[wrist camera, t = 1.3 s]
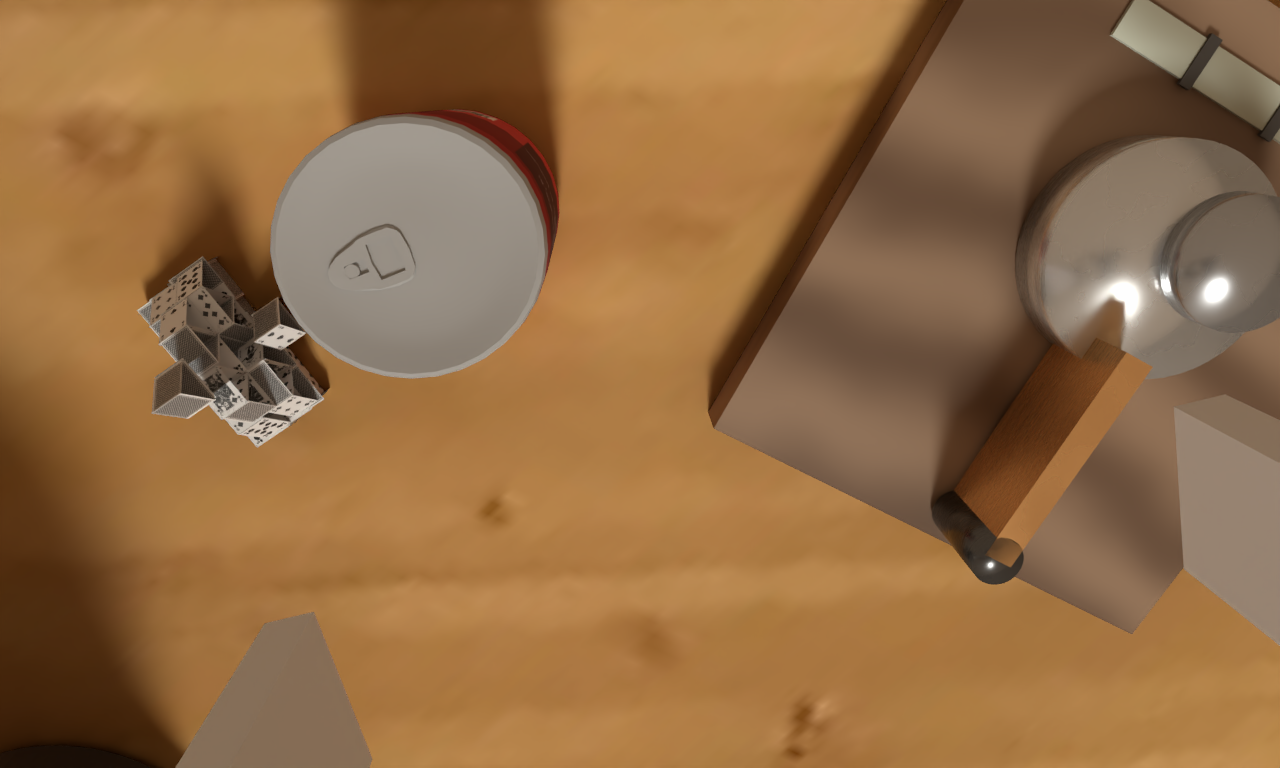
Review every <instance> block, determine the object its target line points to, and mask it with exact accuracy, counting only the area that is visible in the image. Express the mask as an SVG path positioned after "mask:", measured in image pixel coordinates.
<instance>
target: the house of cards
mask: <svg viewBox="0 0 1280 768" xmlns="http://www.w3.org/2000/svg"><path fill="white" fill-rule="evenodd" d="M216 258H217V257H215V258H213V259H211V260H209V261H208V262H207V261H206V259H205V258H204V257H203V256H202V257H201V258H200V259H198V260H197V261H195V262H194V263H193V264H191V265H190V266H188V267H187V268H186V269H184V270H183V271H181V272H180V273H179V274H177V275H176V276H174V277H173V278H172V279H170V280H169V282H170V283H169V284H167V285H168V287H167V288H165V289H164V290H163V291H161V292H160V293H158V294H157V295H156V296H154V297H153V298H151V299H150V300H149V302H148V303H147V304H145V305H144V306H142V307H141V308H140V309H138V310H137V311H138V312H139V313H140V314H141V316H142V317H143V318H144V319H145V320H146V321H147V323H148V324H149V325H150V326H149V328H151V329H152V330H153V331H154V332H155V333H156V334H157V336H158V337H159V345H160V346H163V347H164V348H165V349H166V351H167V352H168V353H169V354H170V355H171V356H172V358H173V359H174V360H175V361H176V363H175V364H173V365H172V366H170V367H169V368H167V369H166V370H165V371H163V372H162V373H160V374H159V375H157V376H156V377H155V378H156V379H154V391H153V405H152V414H159V415H166V416H173V417H180V418H187V419H189V418H190V417H192V416H193V415H195V414H196V413H197V412H199V411H200V410H202V409H203V408H205V407H206V406H208V405H209V406H210V407H211V408H212V409H213V411H214V412H215V413H216V414H217V415H218V416H219V418H220V419H221V420H223V419H225V420H226V421H227V422H228V424H229V425H230V426H231V427H232V428H233V429H234V430H235V432H236V433H237V434H238V435H246V436H248V438H249V439H250V440H251V441H252V442H253V443H254V445H255V446H256V447H259V446H260V445H262V444H263V443H265V442H266V441H268V440H269V439H271V438H272V437H274V436H275V435H277V434H278V433H280V432H281V431H283V430H284V429H286V428H287V427H289V426H291V425H292V424H293V423H295V422H296V421H297V420H298V419H299V418H300V417H301V416H302V415H303V414H305V413H306V412H308V411H309V410H311V409H312V407H313V406H315V405H316V404H318V403H319V402H321V401H322V400H324V398H323V397H322V396H323V395H324V394H325V393H326V392H327V391H328V389H327V390H326V391H324V390H323V389H322V388H321V386H320V385H319V384H318V383H317V382H316V380H315V379H314V378H313V377H312V375H311V374H310V373H309V372H308V371H307V369H306V368H305V367H304V366H303V364H302V363H301V362H300V361H299V360H298V358H297V357H296V356H295V355H294V354H293V352H292V351H291V350H290V349H289V348H288V345H290V344H291V343H293V342H294V341H296V340H297V339H299V338H300V337H302V336H303V335H304V334H306V333H305V332H304V331H303V329H302V327H300V326H299V325H298V323H297V322H296V321H295V320H294V318H293V317H292V316H291V315H290V313H289V312H288V311H287V310H286V308H285V307H284V306H283V305H282V303H281V302H280V301H279V299H280V298H279V299H278V297H277V298H275V299H274V300H272V301H271V302H269V303H268V304H267V305H265V306H264V307H262V308H261V309H259V310H258V311H257V312H255V311H254V309H253V308H252V307H251V306H250V304H249V303H248V302H247V301H246V300H245V298H244V297H243V295H244V293H243V292H242V290H241V289H240V288H239V287H238V285H237V284H236V283H235V282H234V281H233V279H232V278H231V277H230V276H229V274H228V273H227V272H226V271H225V269H224V268H223V267H222V266H221V265H220V263H219V262H218V261H217V260H216ZM138 315H139V314H138Z"/></svg>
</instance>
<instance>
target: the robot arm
mask: <svg viewBox="0 0 1280 768" xmlns="http://www.w3.org/2000/svg"><path fill="white" fill-rule="evenodd" d="M1174 418H1175V434H1176V450H1177V467H1178V483H1179V499H1180V516H1181V532H1182V548H1183V564H1184V569H1185V570H1186V571H1187V572H1188V573H1190V574H1191V575H1192V576H1193V577H1195V578H1196V579H1197V580H1198V581H1200V582H1201V583H1202V584H1203V585H1205V586H1206V587H1207V588H1208V589H1210V590H1211V591H1212V592H1213V593H1215V594H1216V595H1217V596H1218V597H1220V598H1221V599H1222V600H1223V601H1225V602H1226V603H1227V604H1228V605H1230V606H1231V607H1232V608H1233V609H1235V610H1236V611H1237V612H1238V613H1240V614H1241V615H1242V616H1243V617H1245V618H1246V619H1247V620H1248V621H1250V622H1251V623H1252V624H1253V625H1255V626H1256V627H1257V628H1258V629H1260V630H1261V631H1262V632H1263V633H1265V634H1266V635H1267V636H1268V637H1270V638H1271V639H1272V640H1273V641H1275V642H1276V643H1277V644H1278V645H1280V420H1278V419H1276V418H1274V417H1272V416H1270V415H1268V414H1266V413H1263V412H1261V411H1259V410H1257V409H1255V408H1253V407H1251V406H1249V405H1247V404H1244V403H1242V402H1240V401H1238V400H1236V399H1234V398H1232V397H1230V396H1227V395H1221V396H1217V397H1212V398H1208V399H1204V400H1200V401H1196V402H1191V403H1187V404H1183V405H1179V406H1175V407H1174ZM371 761H372V757H371V754H370V752H369V749H368V747H367V744H366V742H365V739H364V737H363V734H362V732H361V729H360V727H359V724H358V722H357V719H356V717H355V714H354V712H353V709H352V707H351V704H350V702H349V699H348V696H347V694H346V691H345V689H344V686H343V684H342V681H341V679H340V676H339V674H338V671H337V669H336V666H335V664H334V661H333V659H332V656H331V654H330V651H329V649H328V646H327V644H326V641H325V639H324V636H323V634H322V631H321V629H320V626H319V624H318V621H317V619H316V616H315V614H314V612H311V613H307V614H303V615H299V616H294V617H290V618H286V619H282V620H278V621H273V622H269V623H265V624H264V626H263V627H262V629H261V630H260V632H259V634H258V635H257V637H256V639H255V640H254V642H253V643H252V645H251V647H250V648H249V650H248V651H247V653H246V655H245V656H244V658H243V659H242V661H241V663H240V664H239V666H238V668H237V669H236V671H235V672H234V674H233V676H232V677H231V679H230V680H229V682H228V684H227V685H226V687H225V688H224V690H223V692H222V693H221V695H220V697H219V698H218V700H217V701H216V703H215V705H214V706H213V708H212V709H211V711H210V713H209V714H208V716H207V717H206V719H205V721H204V722H203V724H202V726H201V727H200V729H199V730H198V732H197V734H196V735H195V737H194V738H193V740H192V742H191V743H190V745H189V746H188V748H187V750H186V751H185V753H184V755H183V756H182V758H181V759H180V761H179V763H178V764H177V766H176V767H175V768H369V767H370V764H371ZM0 768H150V767H148V766H146V765H144V764H142V763H140V762H137V761H135V760H132V759H129V758H126V757H123V756H121V755H117V754H114V753H110V752H106V751H102V750H97V749H91V748H85V747H76V746H58V745H54V746H36V747H28V748H21V749H16V750H12V751H7V752H4V753H1V754H0Z"/></svg>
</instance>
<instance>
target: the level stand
mask: <svg viewBox="0 0 1280 768" xmlns="http://www.w3.org/2000/svg"><path fill="white" fill-rule="evenodd" d="M1137 135H1159V136H1173V137H1187V138H1199V139H1205V140H1210V141H1215V142H1218V143H1221V144H1224V145H1227V146H1229V147H1231V148H1233V149H1235V150H1237V151H1239V152H1241V153H1242V154H1243V155H1245V156H1246V157H1247V158H1249V159H1250V160H1251V161H1253V162H1254V163H1255V164H1256V165H1257V166H1258V167H1259V168H1260V169H1261V171H1262V172H1263V173H1264V174H1265V176H1266V177H1267V179H1268V180H1269V181H1270V183H1271V184H1272V186H1273V188H1274V191H1275V193H1276V195H1277V196H1278V197H1280V8H1278V7H1277V6H1276V5H1274V4H1273V3H1271V2H1270V1H1268V0H947V1H946V3H945V5H944V7H943V8H942V10H941V12H940V13H939V15H938V17H937V19H936V20H935V22H934V24H933V26H932V27H931V29H930V31H929V32H928V34H927V36H926V38H925V39H924V41H923V43H922V44H921V46H920V48H919V50H918V51H917V53H916V55H915V57H914V58H913V60H912V62H911V63H910V65H909V67H908V69H907V70H906V72H905V74H904V76H903V77H902V79H901V81H900V82H899V84H898V86H897V88H896V89H895V91H894V93H893V95H892V96H891V98H890V100H889V101H888V103H887V105H886V107H885V108H884V110H883V112H882V113H881V115H880V117H879V119H878V120H877V122H876V124H875V126H874V127H873V129H872V131H871V132H870V134H869V136H868V138H867V139H866V141H865V143H864V145H863V146H862V148H861V150H860V151H859V153H858V155H857V157H856V158H855V160H854V162H853V164H852V165H851V167H850V169H849V170H848V172H847V174H846V176H845V177H844V179H843V181H842V182H841V184H840V186H839V188H838V189H837V191H836V193H835V195H834V196H833V198H832V200H831V201H830V203H829V205H828V207H827V208H826V210H825V212H824V214H823V215H822V217H821V219H820V220H819V222H818V224H817V226H816V227H815V229H814V231H813V232H812V234H811V236H810V238H809V239H808V241H807V243H806V245H805V246H804V248H803V250H802V251H801V253H800V255H799V257H798V258H797V260H796V262H795V264H794V265H793V267H792V269H791V270H790V272H789V274H788V276H787V277H786V279H785V281H784V283H783V284H782V286H781V288H780V289H779V291H778V293H777V295H776V296H775V298H774V300H773V301H772V303H771V305H770V307H769V308H768V310H767V312H766V314H765V315H764V317H763V319H762V320H761V322H760V324H759V326H758V327H757V329H756V331H755V333H754V334H753V336H752V338H751V339H750V341H749V343H748V345H747V346H746V348H745V350H744V352H743V353H742V355H741V357H740V358H739V360H738V362H737V364H736V365H735V367H734V369H733V370H732V372H731V374H730V376H729V377H728V379H727V381H726V383H725V384H724V386H723V388H722V389H721V391H720V393H719V395H718V396H717V398H716V400H715V402H714V403H713V405H712V407H711V408H710V410H709V412H708V413H709V416H710V419H711V422H712V425H713V427H714V429H716V430H718V431H720V432H722V433H724V434H726V435H728V436H730V437H732V438H734V439H736V440H738V441H740V442H742V443H744V444H746V445H749V446H751V447H753V448H755V449H757V450H759V451H761V452H763V453H765V454H767V455H769V456H771V457H773V458H775V459H777V460H779V461H781V462H783V463H785V464H787V465H789V466H791V467H793V468H795V469H797V470H799V471H801V472H803V473H805V474H807V475H809V476H811V477H814V478H816V479H818V480H820V481H822V482H824V483H826V484H828V485H830V486H832V487H834V488H836V489H838V490H840V491H842V492H844V493H846V494H848V495H850V496H852V497H854V498H856V499H858V500H860V501H862V502H864V503H866V504H868V505H870V506H872V507H874V508H876V509H878V510H881V511H883V512H885V513H887V514H889V515H891V516H893V517H895V518H897V519H899V520H901V521H903V522H905V523H907V524H909V525H911V526H913V527H915V528H917V529H919V530H921V531H923V532H925V533H927V534H929V535H931V536H933V537H935V538H937V539H939V540H941V541H943V542H946V543H948V544H950V543H949V541H948V540H947V539H946V538H945V536H944V535H943V534H942V532H941V531H940V530H939V529H938V527H937V526H936V525H935V523H934V521H933V519H932V509H933V506H934V504H935V502H936V501H937V499H938V498H939V497H940V496H942V495H943V494H945V493H947V492H949V491H952V490H954V489H955V488H956V486H957V485H958V483H959V482H960V480H961V479H962V477H963V476H964V474H965V473H966V471H967V470H968V468H969V467H970V465H971V464H972V462H973V461H974V460H975V458H976V457H977V455H978V454H979V452H980V451H981V449H982V448H983V446H984V445H985V443H986V442H987V440H988V439H989V437H990V436H991V434H992V433H993V431H994V430H995V428H996V427H997V425H998V424H999V422H1000V421H1001V419H1002V418H1003V416H1004V415H1005V414H1006V412H1007V411H1008V409H1009V408H1010V406H1011V405H1012V403H1013V402H1014V400H1015V399H1016V397H1017V396H1018V394H1019V393H1020V391H1021V390H1022V388H1023V387H1024V385H1025V384H1026V382H1027V381H1028V379H1029V378H1030V376H1031V375H1032V373H1033V372H1034V370H1035V369H1036V368H1037V366H1038V365H1039V363H1040V362H1041V360H1042V359H1043V357H1044V356H1045V354H1046V353H1047V351H1048V350H1049V348H1050V347H1051V345H1052V343H1051V342H1049V341H1048V340H1047V339H1046V338H1045V337H1044V336H1043V335H1042V334H1041V333H1040V332H1039V331H1038V330H1037V329H1036V327H1035V326H1034V325H1033V324H1032V322H1031V320H1030V319H1029V317H1028V315H1027V314H1026V312H1025V310H1024V307H1023V305H1022V302H1021V300H1020V296H1019V292H1018V288H1017V282H1016V272H1015V269H1016V252H1017V246H1018V241H1019V237H1020V234H1021V230H1022V227H1023V224H1024V222H1025V220H1026V217H1027V215H1028V213H1029V211H1030V209H1031V207H1032V205H1033V204H1034V202H1035V200H1036V198H1037V197H1038V196H1039V194H1040V193H1041V191H1042V190H1043V189H1044V187H1045V186H1046V185H1047V184H1048V183H1049V181H1050V180H1051V179H1052V178H1053V177H1054V176H1055V175H1056V174H1057V173H1058V172H1059V171H1060V170H1061V169H1063V168H1064V167H1065V166H1066V165H1067V164H1068V163H1069V162H1071V161H1072V160H1074V159H1075V158H1077V157H1078V156H1080V155H1081V154H1083V153H1084V152H1086V151H1088V150H1090V149H1092V148H1094V147H1096V146H1098V145H1101V144H1103V143H1106V142H1108V141H1111V140H1115V139H1119V138H1123V137H1127V136H1137ZM1221 395H1227V396H1230V397H1232V398H1234V399H1236V400H1238V401H1240V402H1242V403H1244V404H1247V405H1249V406H1251V407H1253V408H1255V409H1257V410H1259V411H1261V412H1263V413H1266V414H1268V415H1270V416H1272V417H1274V418H1276V419H1278V420H1280V318H1278V319H1277V320H1275V321H1273V322H1272V323H1270V324H1268V325H1266V326H1264V327H1261V328H1258V329H1256V330H1252V331H1248V332H1245V333H1244V334H1243V335H1242V336H1241V337H1240V338H1239V339H1238V340H1237V341H1236V342H1235V343H1233V344H1232V345H1231V346H1230V347H1228V348H1227V349H1226V350H1225V351H1223V352H1222V353H1221V354H1219V355H1218V356H1216V357H1214V358H1213V359H1211V360H1210V361H1208V362H1206V363H1204V364H1202V365H1200V366H1198V367H1196V368H1194V369H1191V370H1189V371H1186V372H1183V373H1180V374H1177V375H1173V376H1168V377H1164V378H1156V379H1144V380H1143V382H1142V383H1141V385H1140V386H1139V387H1138V389H1137V390H1136V392H1135V393H1134V394H1133V396H1132V397H1131V399H1130V400H1129V402H1128V403H1127V404H1126V406H1125V407H1124V409H1123V410H1122V411H1121V413H1120V414H1119V416H1118V417H1117V418H1116V420H1115V421H1114V423H1113V424H1112V425H1111V427H1110V428H1109V430H1108V431H1107V433H1106V434H1105V435H1104V437H1103V438H1102V440H1101V441H1100V442H1099V444H1098V445H1097V447H1096V448H1095V449H1094V451H1093V452H1092V454H1091V455H1090V456H1089V458H1088V459H1087V461H1086V462H1085V463H1084V465H1083V466H1082V468H1081V469H1080V471H1079V472H1078V473H1077V475H1076V476H1075V478H1074V479H1073V480H1072V482H1071V483H1070V485H1069V486H1068V487H1067V489H1066V490H1065V492H1064V493H1063V494H1062V496H1061V497H1060V499H1059V500H1058V502H1057V503H1056V504H1055V506H1054V507H1053V509H1052V510H1051V511H1050V513H1049V514H1048V516H1047V517H1046V518H1045V520H1044V521H1043V523H1042V524H1041V525H1040V527H1039V528H1038V530H1037V531H1036V532H1035V534H1034V535H1033V537H1032V538H1031V540H1030V541H1029V542H1028V544H1027V545H1026V547H1025V548H1024V549H1023V554H1024V561H1023V565H1022V567H1021V569H1020V571H1019V572H1018V574H1017V575H1016V576H1015V577H1017V578H1019V579H1021V580H1023V581H1025V582H1027V583H1029V584H1031V585H1033V586H1035V587H1037V588H1039V589H1041V590H1043V591H1045V592H1047V593H1049V594H1051V595H1053V596H1055V597H1057V598H1059V599H1061V600H1063V601H1065V602H1067V603H1069V604H1071V605H1073V606H1075V607H1078V608H1080V609H1082V610H1084V611H1086V612H1088V613H1090V614H1092V615H1094V616H1096V617H1098V618H1100V619H1102V620H1104V621H1106V622H1108V623H1110V624H1112V625H1114V626H1116V627H1118V628H1120V629H1122V630H1124V631H1126V632H1128V633H1130V634H1133V632H1134V631H1135V630H1136V628H1137V627H1138V626H1139V625H1140V623H1141V622H1142V621H1143V619H1144V618H1145V617H1146V615H1147V614H1148V613H1149V612H1150V610H1151V609H1152V608H1153V606H1154V605H1155V604H1156V602H1157V601H1158V600H1159V599H1160V597H1161V596H1162V595H1163V593H1164V592H1165V591H1166V589H1167V588H1168V587H1169V585H1170V584H1171V583H1172V582H1173V580H1174V579H1175V578H1176V576H1177V575H1178V574H1179V572H1180V571H1181V570H1182V569H1183V567H1184V564H1183V548H1182V532H1181V516H1180V499H1179V483H1178V467H1177V450H1176V434H1175V418H1174V407H1175V406H1179V405H1183V404H1187V403H1191V402H1196V401H1200V400H1204V399H1208V398H1212V397H1217V396H1221ZM950 545H951V544H950Z"/></svg>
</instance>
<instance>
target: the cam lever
mask: <svg viewBox="0 0 1280 768" xmlns="http://www.w3.org/2000/svg"><path fill="white" fill-rule="evenodd" d="M1015 272H1016V282H1017V288H1018V292H1019V296H1020V300H1021V302H1022V305H1023V307H1024V310H1025V312H1026V314H1027V315H1028V317H1029V319H1030V320H1031V322H1032V324H1033V325H1034V326H1035V327H1036V329H1037V330H1038V331H1039V332H1040V333H1041V334H1042V335H1043V336H1044V337H1045V338H1046V339H1047V340H1048V341H1049V342H1051V343H1052V345H1051V347H1050V348H1049V350H1048V351H1047V353H1046V354H1045V356H1044V357H1043V359H1042V360H1041V362H1040V363H1039V365H1038V366H1037V368H1036V369H1035V370H1034V372H1033V373H1032V375H1031V376H1030V378H1029V379H1028V381H1027V382H1026V384H1025V385H1024V387H1023V388H1022V390H1021V391H1020V393H1019V394H1018V396H1017V397H1016V399H1015V400H1014V402H1013V403H1012V405H1011V406H1010V408H1009V409H1008V411H1007V412H1006V414H1005V415H1004V416H1003V418H1002V419H1001V421H1000V422H999V424H998V425H997V427H996V428H995V430H994V431H993V433H992V434H991V436H990V437H989V439H988V440H987V442H986V443H985V445H984V446H983V448H982V449H981V451H980V452H979V454H978V455H977V457H976V458H975V460H974V461H973V462H972V464H971V465H970V467H969V468H968V470H967V471H966V473H965V474H964V476H963V477H962V479H961V480H960V482H959V483H958V485H957V486H956V488H955V489H954V490H952V491H949V492H947V493H945V494H943V495H942V496H940V497H939V498H938V499H937V501H936V502H935V504H934V506H933V509H932V519H933V521H934V523H935V525H936V526H937V527H938V529H939V530H940V531H941V532H942V534H943V535H944V536H945V538H946V539H947V540H948V541H949V543H950V544H951V545H952V546H953V548H954V549H955V550H956V551H957V553H958V554H959V555H960V557H961V558H962V559H963V560H964V562H965V563H966V564H967V565H968V567H969V568H970V569H971V570H972V572H973V573H974V574H975V575H976V577H977V578H978V579H979V580H981V581H982V582H985V583H987V584H1001V583H1005V582H1007V581H1009V580H1011V579H1012V578H1013V577H1015V576H1016V575H1017V574H1018V572H1019V571H1020V569H1021V567H1022V565H1023V561H1024V554H1023V549H1024V548H1025V547H1026V545H1027V544H1028V542H1029V541H1030V540H1031V538H1032V537H1033V535H1034V534H1035V532H1036V531H1037V530H1038V528H1039V527H1040V525H1041V524H1042V523H1043V521H1044V520H1045V518H1046V517H1047V516H1048V514H1049V513H1050V511H1051V510H1052V509H1053V507H1054V506H1055V504H1056V503H1057V502H1058V500H1059V499H1060V497H1061V496H1062V494H1063V493H1064V492H1065V490H1066V489H1067V487H1068V486H1069V485H1070V483H1071V482H1072V480H1073V479H1074V478H1075V476H1076V475H1077V473H1078V472H1079V471H1080V469H1081V468H1082V466H1083V465H1084V463H1085V462H1086V461H1087V459H1088V458H1089V456H1090V455H1091V454H1092V452H1093V451H1094V449H1095V448H1096V447H1097V445H1098V444H1099V442H1100V441H1101V440H1102V438H1103V437H1104V435H1105V434H1106V433H1107V431H1108V430H1109V428H1110V427H1111V425H1112V424H1113V423H1114V421H1115V420H1116V418H1117V417H1118V416H1119V414H1120V413H1121V411H1122V410H1123V409H1124V407H1125V406H1126V404H1127V403H1128V402H1129V400H1130V399H1131V397H1132V396H1133V394H1134V393H1135V392H1136V390H1137V389H1138V387H1139V386H1140V385H1141V383H1142V382H1143V380H1144V379H1156V378H1164V377H1168V376H1173V375H1177V374H1180V373H1183V372H1186V371H1189V370H1191V369H1194V368H1196V367H1198V366H1200V365H1202V364H1204V363H1206V362H1208V361H1210V360H1211V359H1213V358H1214V357H1216V356H1218V355H1219V354H1221V353H1222V352H1223V351H1225V350H1226V349H1227V348H1228V347H1230V346H1231V345H1232V344H1233V343H1235V342H1236V341H1237V340H1238V339H1239V338H1240V337H1241V336H1242V335H1243V334H1244V333H1245V332H1248V331H1252V330H1256V329H1258V328H1261V327H1264V326H1266V325H1268V324H1270V323H1272V322H1273V321H1275V320H1277V319H1278V318H1280V197H1278V196H1277V195H1276V193H1275V191H1274V188H1273V186H1272V184H1271V183H1270V181H1269V180H1268V179H1267V177H1266V176H1265V174H1264V173H1263V172H1262V171H1261V169H1260V168H1259V167H1258V166H1257V165H1256V164H1255V163H1254V162H1253V161H1251V160H1250V159H1249V158H1247V157H1246V156H1245V155H1243V154H1242V153H1241V152H1239V151H1237V150H1235V149H1233V148H1231V147H1229V146H1227V145H1224V144H1221V143H1218V142H1215V141H1210V140H1205V139H1199V138H1187V137H1173V136H1159V135H1137V136H1127V137H1123V138H1119V139H1115V140H1111V141H1108V142H1106V143H1103V144H1101V145H1098V146H1096V147H1094V148H1092V149H1090V150H1088V151H1086V152H1084V153H1083V154H1081V155H1080V156H1078V157H1077V158H1075V159H1074V160H1072V161H1071V162H1069V163H1068V164H1067V165H1066V166H1065V167H1064V168H1063V169H1061V170H1060V171H1059V172H1058V173H1057V174H1056V175H1055V176H1054V177H1053V178H1052V179H1051V180H1050V181H1049V183H1048V184H1047V185H1046V186H1045V187H1044V189H1043V190H1042V191H1041V193H1040V194H1039V196H1038V197H1037V198H1036V200H1035V202H1034V204H1033V205H1032V207H1031V209H1030V211H1029V213H1028V215H1027V217H1026V220H1025V222H1024V224H1023V227H1022V230H1021V234H1020V237H1019V241H1018V246H1017V252H1016V269H1015Z"/></svg>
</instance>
